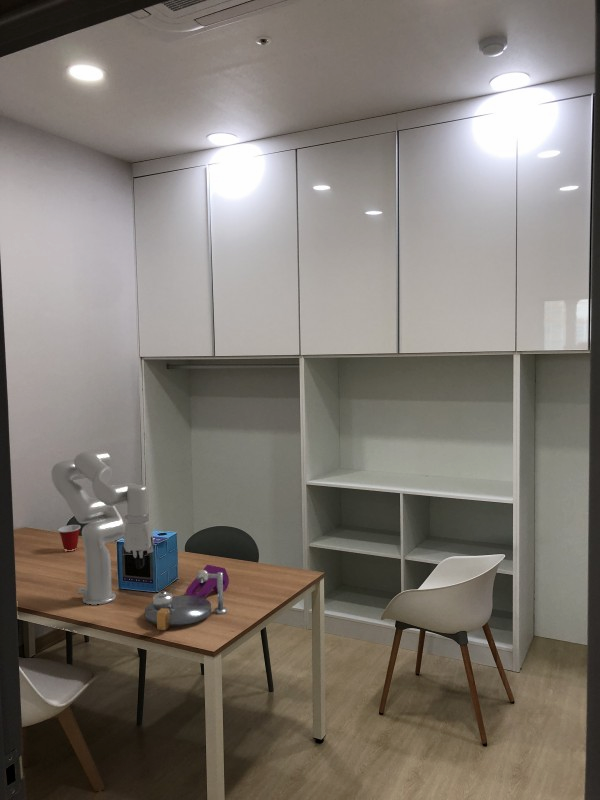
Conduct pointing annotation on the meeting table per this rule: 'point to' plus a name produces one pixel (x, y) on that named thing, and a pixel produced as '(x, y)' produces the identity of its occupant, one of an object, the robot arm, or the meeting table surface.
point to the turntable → (179, 612)
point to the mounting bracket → (208, 583)
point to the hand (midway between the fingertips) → (140, 567)
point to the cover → (162, 600)
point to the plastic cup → (69, 536)
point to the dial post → (203, 577)
